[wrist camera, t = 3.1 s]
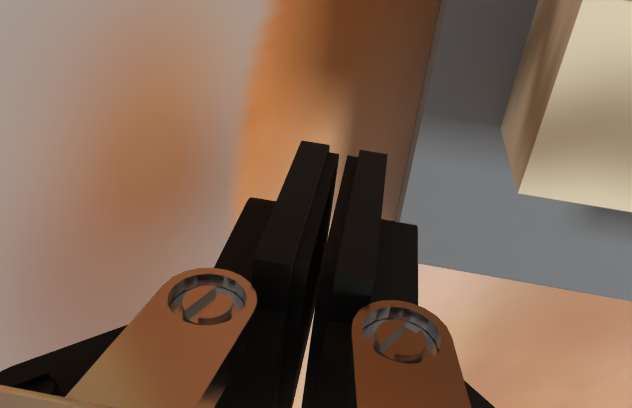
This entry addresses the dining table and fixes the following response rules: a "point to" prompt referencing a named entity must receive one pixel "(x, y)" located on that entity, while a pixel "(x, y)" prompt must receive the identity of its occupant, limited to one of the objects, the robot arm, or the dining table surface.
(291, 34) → the dining table surface
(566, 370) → the dining table surface
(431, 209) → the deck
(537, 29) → the birch block
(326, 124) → the dining table surface
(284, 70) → the dining table surface
